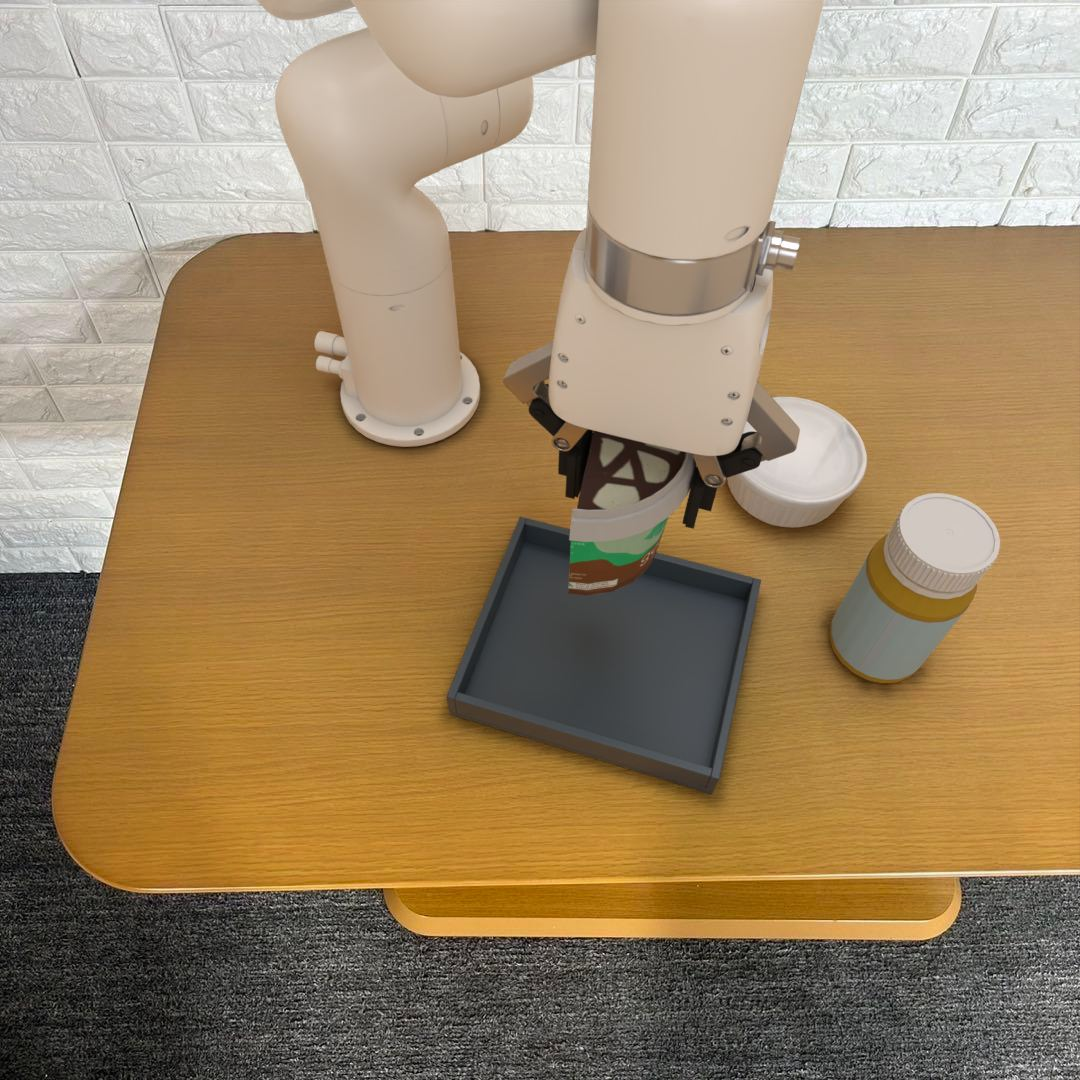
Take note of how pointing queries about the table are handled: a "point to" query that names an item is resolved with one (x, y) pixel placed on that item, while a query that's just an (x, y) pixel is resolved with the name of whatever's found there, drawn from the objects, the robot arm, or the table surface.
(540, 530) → the tray
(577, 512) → the food container
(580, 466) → the robot arm
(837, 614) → the bottle
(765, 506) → the ramekin
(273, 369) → the table surface
